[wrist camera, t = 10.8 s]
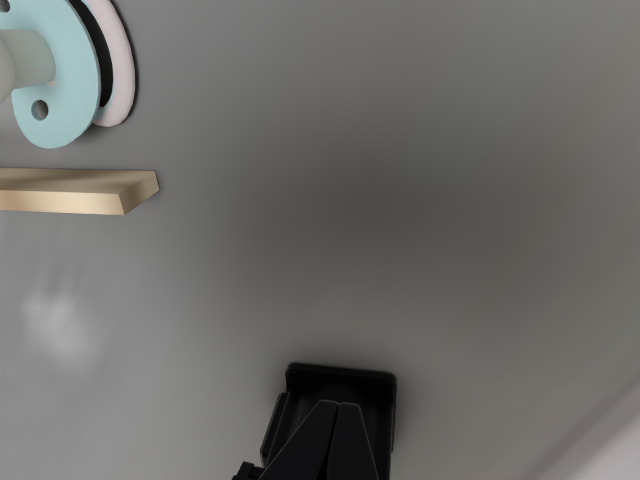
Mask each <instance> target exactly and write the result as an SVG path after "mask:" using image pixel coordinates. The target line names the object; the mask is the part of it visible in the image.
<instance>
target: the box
mask: <svg viewBox="0 0 640 480" xmlns="http://www.w3.org/2000/svg"><path fill="white" fill-rule="evenodd" d="M158 191H159V186H158V182H157V177H156V173H155V171H126V170H80V169H33V168H0V210H19V211H41V212H64V213H87V214H110V215H125V214H127V213H128V212H130V211H131V210H132V209H134V208H135V207H137V206H138V205H139V204H141V203H142V202H144V201H145V200H146V199H148V198H149V197H151V196H152V195H153V194H155V193H156V192H158Z"/></svg>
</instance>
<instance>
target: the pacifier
mask: <svg viewBox="0 0 640 480" xmlns="http://www.w3.org/2000/svg"><path fill="white" fill-rule="evenodd" d="M81 1H82V2H83V3H84V4H85V5H86V6H87V7H88V9H89V10H90V11H91V13H92V14H93V16H94V17H95V19H96V20H97V22H98V24H99V26H100V28H101V30H102V32H103V34H104V37H105V39H106V42H107V45H108V48H109V51H110V56H111V61H112V65H113V89H112V94H111V97H110V99H109V102H108V103H107V104H106V105H105V106H104V107H101V106H99V102H100V94H101V76H100V68H99V63H98V58H97V55H96V51H95V48H94V45H93V43H92V40H91V37H90V35H89V33H88V31H87V29H86V27H85V25H84V23H83V22H82V20H81V18H80V16H79V15H78V13H77V11H76V10H75V9H74V7H73V6H72V5H71V3H70V2H69V1H68V0H8V2H9V3H10V10H9V12H6V11H4V10H2V9H1V8H0V103H1V102H2V101H4V100H5V99H6V98H7V97H8V96H9V95H10V94H12V103H13V108H14V114H15V116H16V119H17V122H18V125H19V127H20V128H21V130H22V132H23V134H24V135H25V136H26V137H27V139H28V140H29V141H31V142H32V143H33V144H35V145H37V146H39V147H42V148H48V149H49V148H58V147H61V146H65V145H67V144H68V143H70V142H72V141H74V140H76V139H77V138H78V137H79V136H81V135H82V134H83V133H84V132H85V131H86V130H87V129H88V128H89V127H90V125H91V123H94V124H96V125H99V126H105V127H111V126H115V125H118V124H120V123H121V122H122V121H123V120H124V119H125V118H126V117H127V115H128V113H129V111H130V108H131V106H132V104H133V99H134V93H135V68H134V63H133V57H132V52H131V47H130V44H129V41H128V39H127V36H126V33H125V30H124V27H123V25H122V23H121V21H120V19H119V17H118V14H117V12H116V10H115V8H114V6H113V5H112V3H111V2H110V1H109V0H81ZM39 100H43V101H45V102H46V103H47V105H48V109H49V111H48V115H47V117H46V118H45V119H42V118H40V117H39V116H38V114H37V112H36V105H37V103H38V101H39Z"/></svg>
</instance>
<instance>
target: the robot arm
mask: <svg viewBox="0 0 640 480" xmlns="http://www.w3.org/2000/svg"><path fill="white" fill-rule="evenodd" d="M293 372H294V373H293ZM295 373H296V374H295ZM285 376H286V385H287V393H284V392H282V393H281V394H280V395H279V396H278V399H277V402H276V405H275V408H274V411H273V414H272V417H271V419H270V422H269V425H268V428H267V431H266V434H265V437H264V440H263V443H262V446H261V448H260V457H261V463H262V468H261V467H257V466H254V464H253V463H249V462H245V461H243V463H242V465H241V467H240V469H239V471H238V473H237V475H234V476H233V478H232V480H390V467H391V453H392V452H393V443H394V425H395V408H396V390H397V380H396V378H395V377H394V376H392V375H389V374H381V373H371V372H362V371H353V370H344V369H335V368H325V367H316V366H307V365H298V364H291V365H289V366H288V367H287V370H286V373H285ZM386 383H390V384H386Z"/></svg>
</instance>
